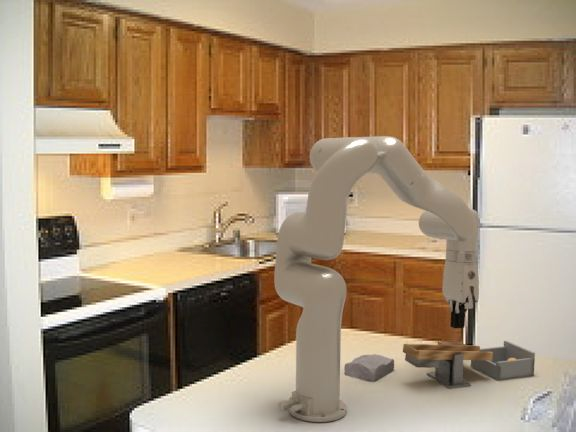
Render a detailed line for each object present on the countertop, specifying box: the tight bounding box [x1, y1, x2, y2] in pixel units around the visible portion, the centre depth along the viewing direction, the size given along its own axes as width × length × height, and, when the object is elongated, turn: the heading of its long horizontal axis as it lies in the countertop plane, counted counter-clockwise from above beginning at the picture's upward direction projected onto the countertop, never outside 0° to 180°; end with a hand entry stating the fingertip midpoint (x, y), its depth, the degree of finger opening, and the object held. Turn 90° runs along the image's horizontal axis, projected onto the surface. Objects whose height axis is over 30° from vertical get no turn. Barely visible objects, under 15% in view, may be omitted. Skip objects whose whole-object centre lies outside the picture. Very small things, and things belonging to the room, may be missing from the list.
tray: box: [470, 340, 536, 382], centre depth 162 cm, size 11×11×6 cm
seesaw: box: [402, 340, 493, 369], centre depth 158 cm, size 22×14×4 cm, turn 110°
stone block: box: [343, 353, 395, 382], centre depth 161 cm, size 12×5×10 cm
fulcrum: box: [426, 344, 472, 390], centre depth 155 cm, size 6×10×8 cm, turn 19°
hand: (457, 327), depth 163 cm, fingers closed
